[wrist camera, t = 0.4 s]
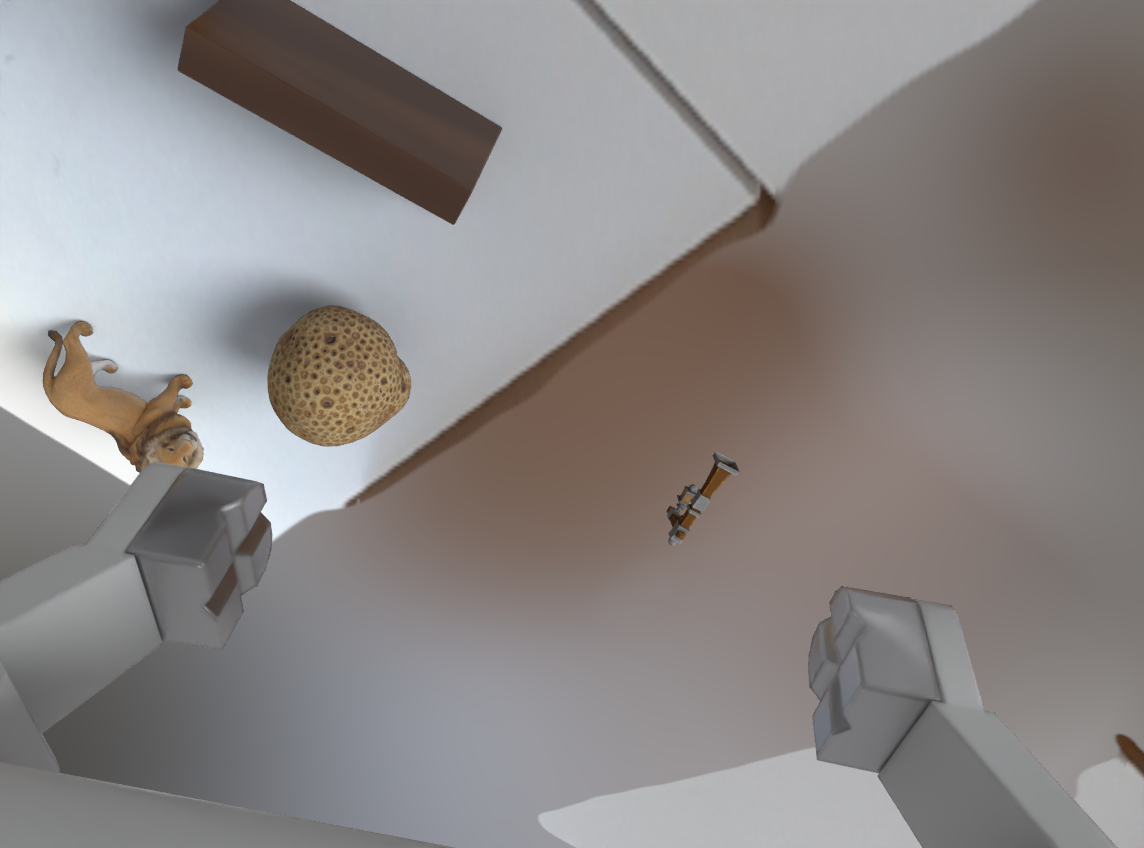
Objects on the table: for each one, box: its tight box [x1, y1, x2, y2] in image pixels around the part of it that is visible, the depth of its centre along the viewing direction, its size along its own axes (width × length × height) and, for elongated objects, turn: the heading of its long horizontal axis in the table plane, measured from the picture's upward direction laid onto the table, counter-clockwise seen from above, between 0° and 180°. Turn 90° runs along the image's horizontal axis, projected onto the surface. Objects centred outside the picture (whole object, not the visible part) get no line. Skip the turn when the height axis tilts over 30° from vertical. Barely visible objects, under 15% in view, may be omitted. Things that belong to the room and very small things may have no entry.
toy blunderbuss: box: [667, 452, 739, 546], centre depth 65 cm, size 2×8×4 cm, turn 152°
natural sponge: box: [268, 306, 411, 446], centre depth 57 cm, size 9×9×10 cm
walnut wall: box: [178, 0, 502, 225], centre depth 46 cm, size 6×15×7 cm, turn 61°
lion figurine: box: [43, 321, 204, 473], centre depth 64 cm, size 15×5×9 cm, turn 64°
